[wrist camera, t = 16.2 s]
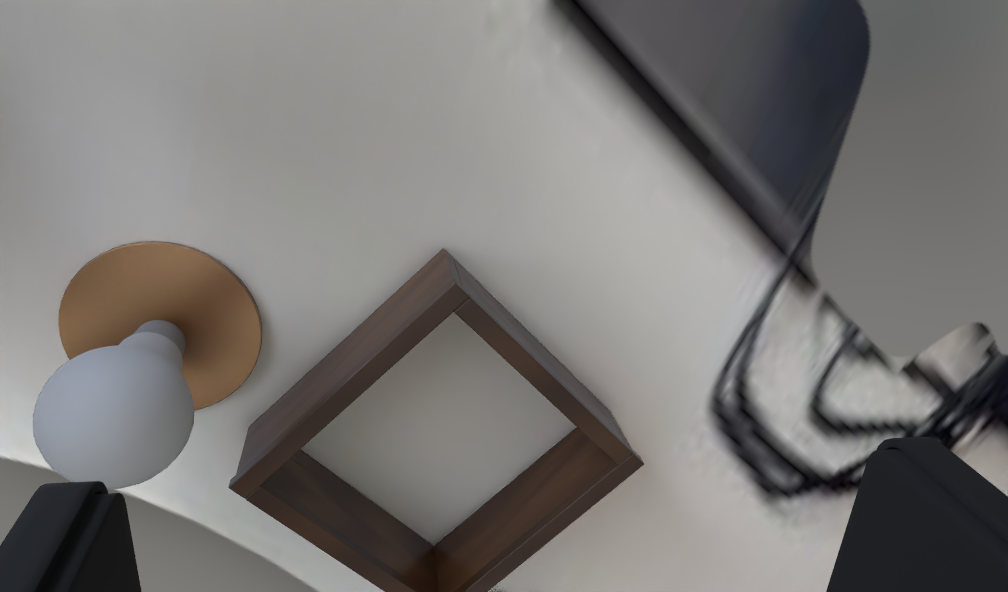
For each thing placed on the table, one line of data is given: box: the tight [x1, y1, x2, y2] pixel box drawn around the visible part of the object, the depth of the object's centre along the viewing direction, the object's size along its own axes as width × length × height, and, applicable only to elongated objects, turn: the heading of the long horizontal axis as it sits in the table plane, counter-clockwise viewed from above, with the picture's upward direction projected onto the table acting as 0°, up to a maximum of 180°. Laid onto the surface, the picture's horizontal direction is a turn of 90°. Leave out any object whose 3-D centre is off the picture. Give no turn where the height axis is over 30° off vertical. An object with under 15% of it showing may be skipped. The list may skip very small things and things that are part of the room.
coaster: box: [59, 242, 262, 410], centre depth 38 cm, size 10×10×1 cm
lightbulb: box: [33, 320, 194, 489], centre depth 33 cm, size 6×6×11 cm
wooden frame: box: [229, 249, 644, 592], centre depth 41 cm, size 16×16×6 cm
